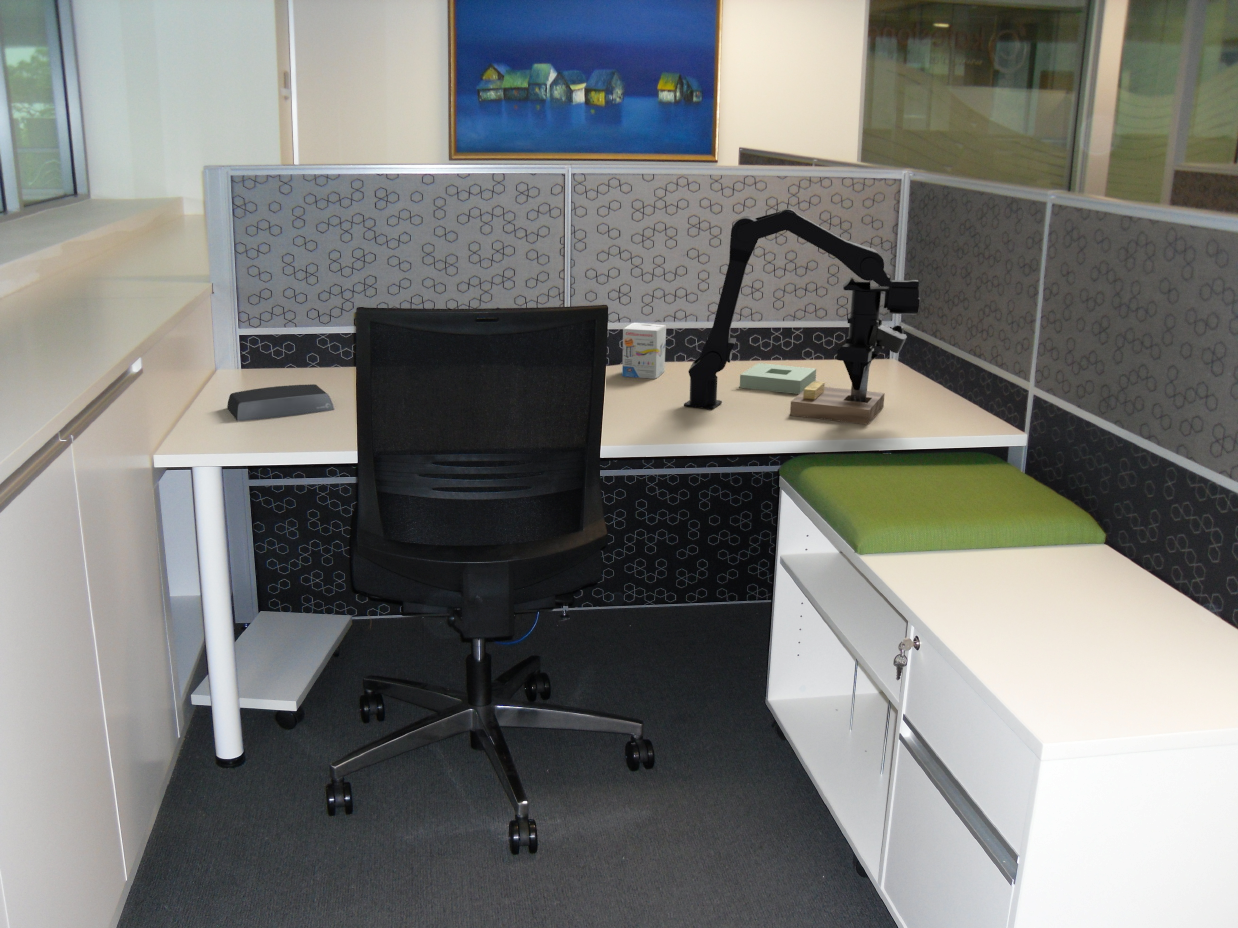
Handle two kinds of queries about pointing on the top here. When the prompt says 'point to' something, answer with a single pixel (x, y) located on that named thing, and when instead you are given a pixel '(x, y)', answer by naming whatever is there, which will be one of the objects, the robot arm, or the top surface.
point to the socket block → (838, 406)
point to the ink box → (644, 350)
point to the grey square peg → (861, 388)
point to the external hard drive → (278, 402)
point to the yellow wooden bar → (813, 390)
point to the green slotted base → (777, 378)
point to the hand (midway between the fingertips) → (858, 388)
